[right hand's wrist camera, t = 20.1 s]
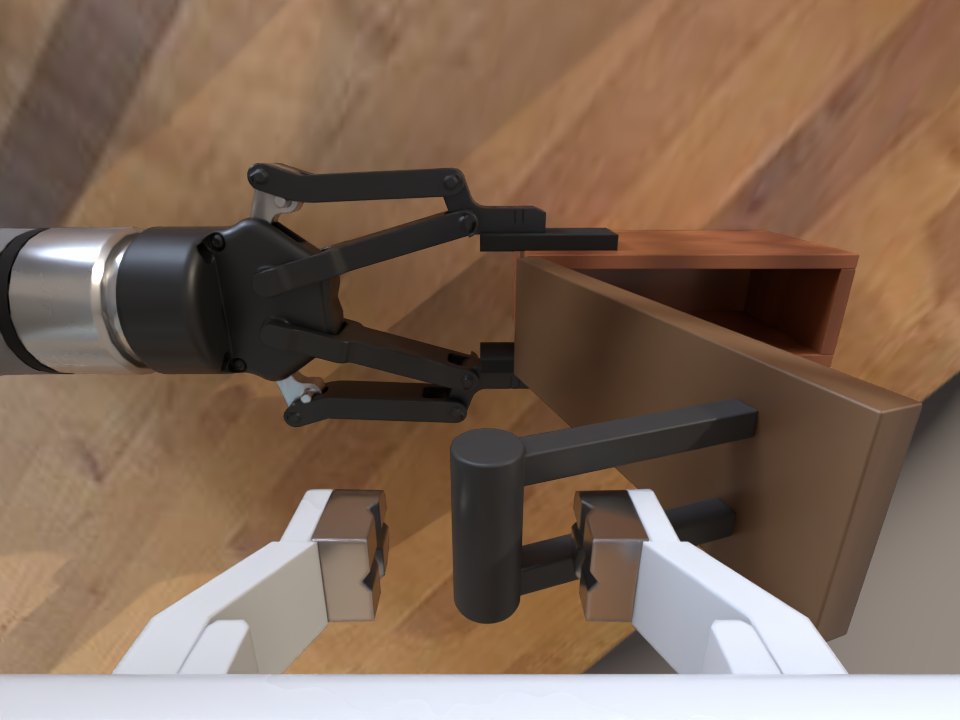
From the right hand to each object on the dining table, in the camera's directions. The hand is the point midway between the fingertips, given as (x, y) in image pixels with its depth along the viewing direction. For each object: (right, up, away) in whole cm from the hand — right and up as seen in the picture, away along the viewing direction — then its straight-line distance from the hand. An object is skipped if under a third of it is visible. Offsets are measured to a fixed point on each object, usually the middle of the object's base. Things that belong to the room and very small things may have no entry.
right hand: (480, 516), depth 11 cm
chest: (+10, +8, +22) cm, 26 cm away
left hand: (+6, +6, +16) cm, 19 cm away
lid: (+5, +3, +7) cm, 9 cm away
